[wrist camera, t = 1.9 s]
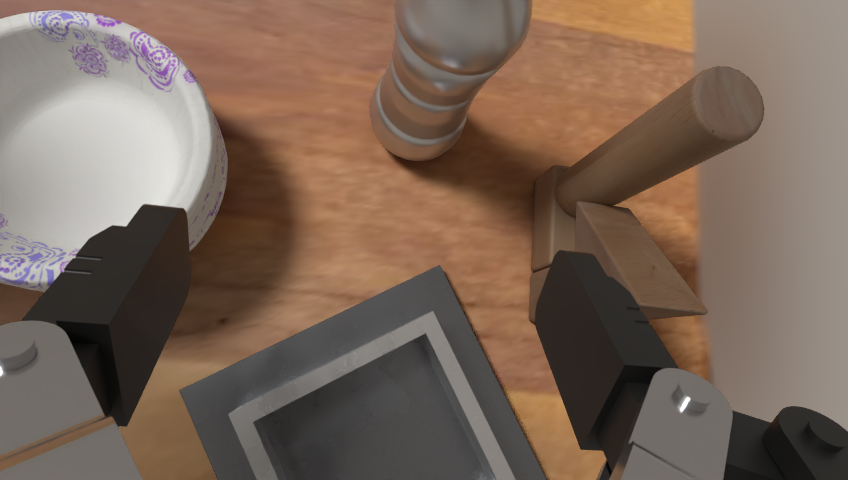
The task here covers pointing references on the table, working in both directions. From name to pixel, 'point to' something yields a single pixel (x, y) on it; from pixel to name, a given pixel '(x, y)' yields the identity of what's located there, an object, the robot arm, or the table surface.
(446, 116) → the silver metal bottle
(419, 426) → the plate
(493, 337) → the table surface
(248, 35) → the table surface
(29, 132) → the paper bowls
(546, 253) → the brown wooden block stack
